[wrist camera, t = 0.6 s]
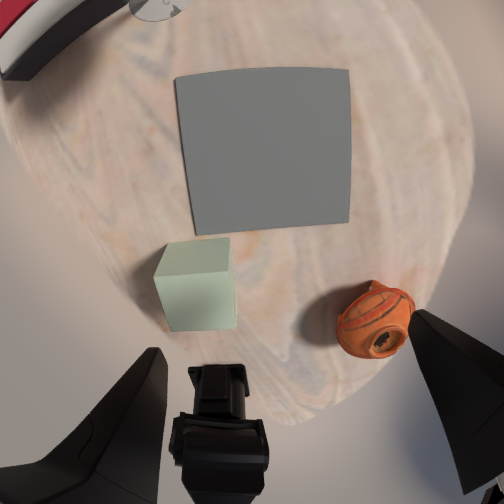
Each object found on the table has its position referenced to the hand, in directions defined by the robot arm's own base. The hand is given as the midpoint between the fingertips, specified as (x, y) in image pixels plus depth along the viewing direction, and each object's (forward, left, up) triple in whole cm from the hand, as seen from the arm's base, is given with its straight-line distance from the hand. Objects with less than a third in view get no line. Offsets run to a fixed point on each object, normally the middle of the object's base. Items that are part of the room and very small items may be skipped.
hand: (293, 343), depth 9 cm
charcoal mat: (+4, -1, -14) cm, 14 cm away
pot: (-11, -10, -14) cm, 20 cm away
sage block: (-5, +5, -14) cm, 15 cm away
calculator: (+23, +16, -14) cm, 31 cm away
